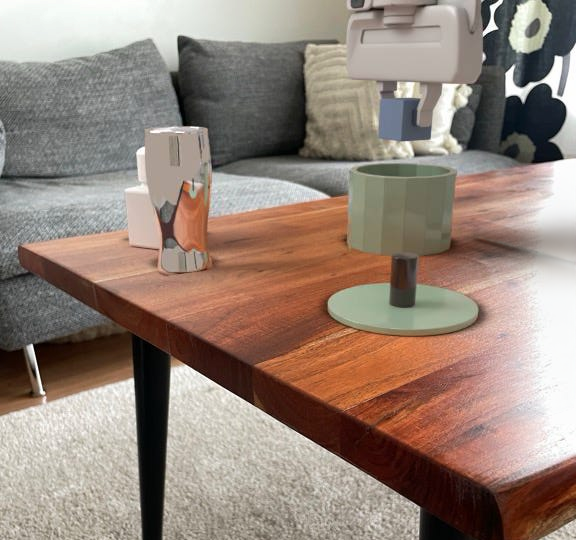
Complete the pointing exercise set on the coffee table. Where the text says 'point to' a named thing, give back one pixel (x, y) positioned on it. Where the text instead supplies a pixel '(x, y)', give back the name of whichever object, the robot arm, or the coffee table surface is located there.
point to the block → (400, 120)
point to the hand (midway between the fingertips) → (405, 124)
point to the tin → (400, 208)
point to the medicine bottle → (141, 210)
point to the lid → (403, 304)
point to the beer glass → (180, 195)
